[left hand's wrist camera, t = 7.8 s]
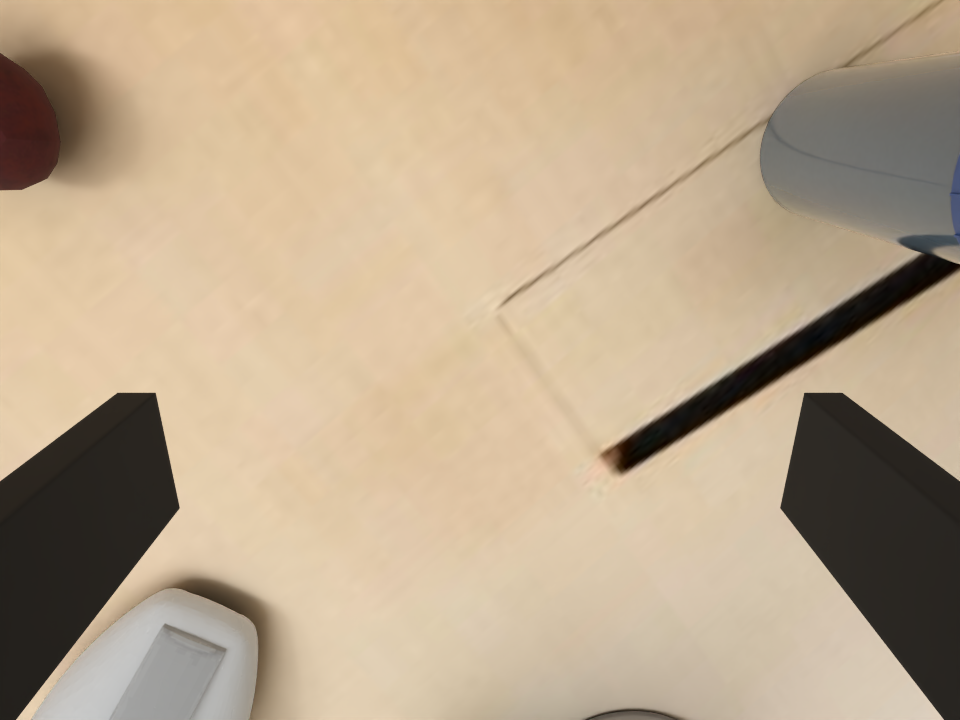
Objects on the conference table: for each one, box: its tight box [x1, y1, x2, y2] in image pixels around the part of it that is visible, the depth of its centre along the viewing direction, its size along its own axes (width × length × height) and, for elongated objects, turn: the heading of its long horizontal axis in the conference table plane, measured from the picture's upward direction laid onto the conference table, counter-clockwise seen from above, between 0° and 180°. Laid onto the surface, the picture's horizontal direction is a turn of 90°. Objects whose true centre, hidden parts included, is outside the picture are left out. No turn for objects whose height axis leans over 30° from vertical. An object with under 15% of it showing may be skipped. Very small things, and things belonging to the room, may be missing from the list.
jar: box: [760, 51, 960, 264], centre depth 29 cm, size 9×9×18 cm
